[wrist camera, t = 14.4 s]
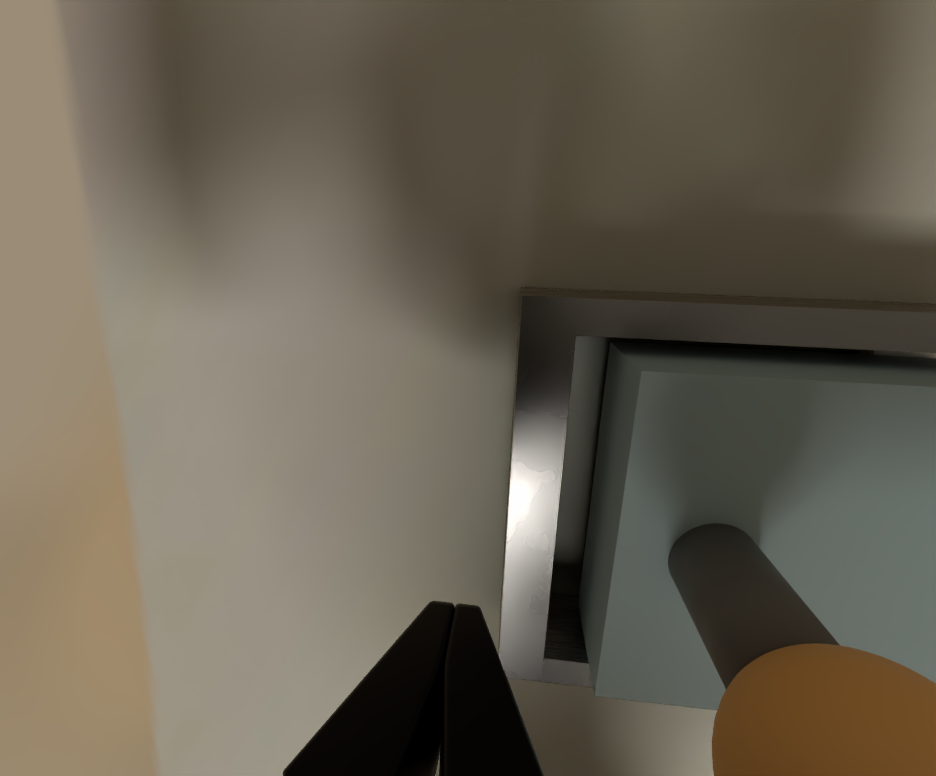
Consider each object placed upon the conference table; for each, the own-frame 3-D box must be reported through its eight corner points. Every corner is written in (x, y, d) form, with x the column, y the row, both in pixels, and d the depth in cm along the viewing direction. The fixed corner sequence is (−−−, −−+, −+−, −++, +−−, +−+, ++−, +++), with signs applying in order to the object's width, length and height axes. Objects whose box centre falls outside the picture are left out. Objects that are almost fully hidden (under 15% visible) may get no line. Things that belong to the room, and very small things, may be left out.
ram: (873, 633, 13) (1552, 1354, 5) (578, 604, 14) (680, 1179, 5) (969, 359, 11) (2695, 762, 2) (610, 341, 12) (884, 597, 3)
